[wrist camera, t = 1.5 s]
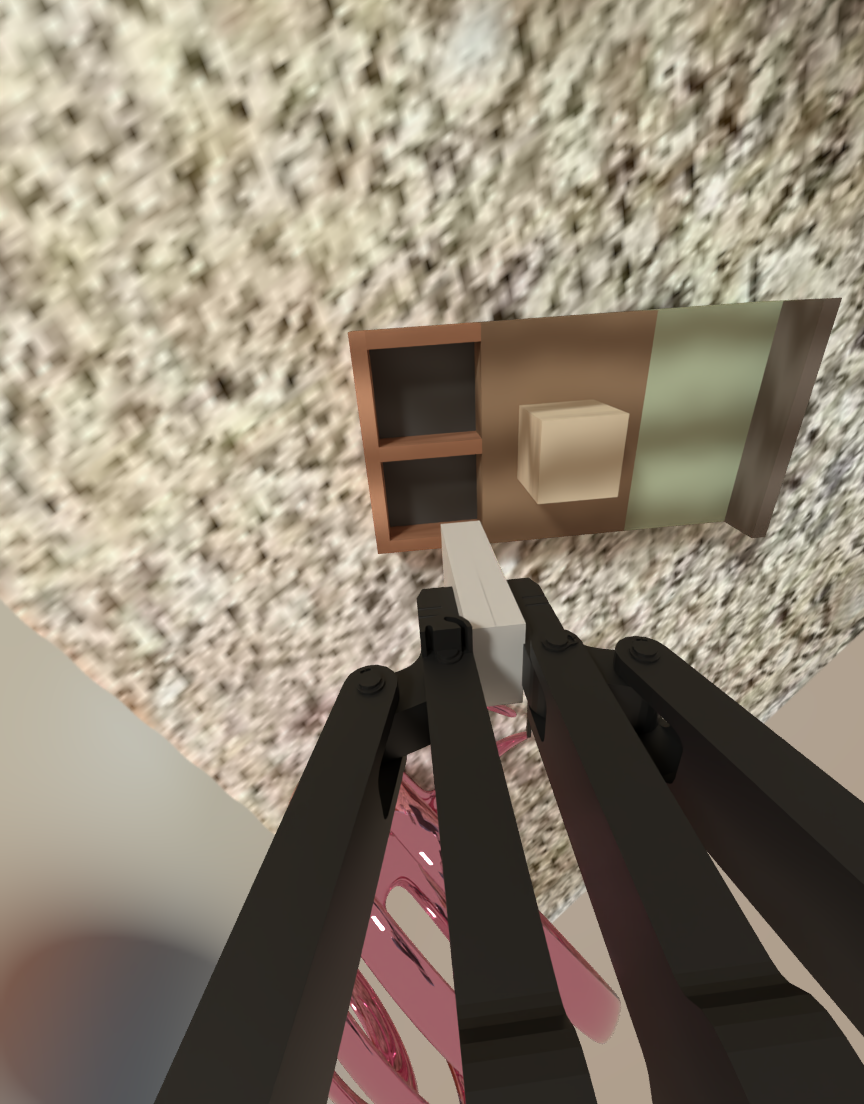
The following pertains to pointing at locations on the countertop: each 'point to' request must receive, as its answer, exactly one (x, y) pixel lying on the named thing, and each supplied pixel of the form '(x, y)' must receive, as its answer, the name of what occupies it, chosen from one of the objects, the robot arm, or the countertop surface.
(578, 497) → the maple block
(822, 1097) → the robot arm
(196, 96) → the countertop surface
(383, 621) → the countertop surface
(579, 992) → the spiral basket
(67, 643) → the countertop surface
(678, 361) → the board
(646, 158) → the countertop surface
